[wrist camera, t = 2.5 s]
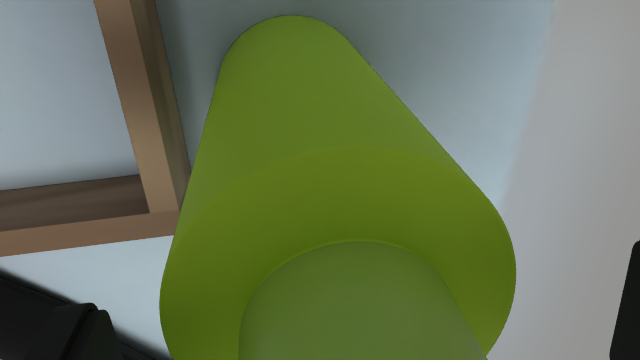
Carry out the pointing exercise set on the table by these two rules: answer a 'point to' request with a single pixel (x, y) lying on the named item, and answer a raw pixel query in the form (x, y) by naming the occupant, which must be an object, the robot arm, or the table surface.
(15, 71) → the table surface
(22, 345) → the electric trimmer
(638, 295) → the robot arm
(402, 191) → the soap dispenser
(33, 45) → the table surface
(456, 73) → the table surface
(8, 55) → the table surface
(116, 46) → the frame
